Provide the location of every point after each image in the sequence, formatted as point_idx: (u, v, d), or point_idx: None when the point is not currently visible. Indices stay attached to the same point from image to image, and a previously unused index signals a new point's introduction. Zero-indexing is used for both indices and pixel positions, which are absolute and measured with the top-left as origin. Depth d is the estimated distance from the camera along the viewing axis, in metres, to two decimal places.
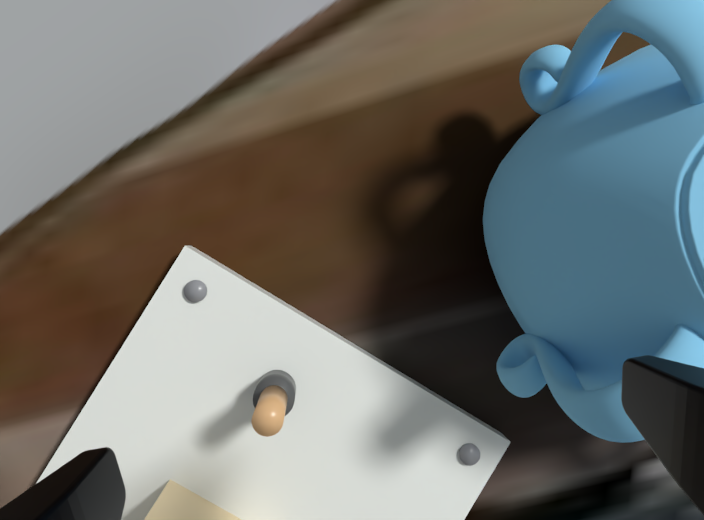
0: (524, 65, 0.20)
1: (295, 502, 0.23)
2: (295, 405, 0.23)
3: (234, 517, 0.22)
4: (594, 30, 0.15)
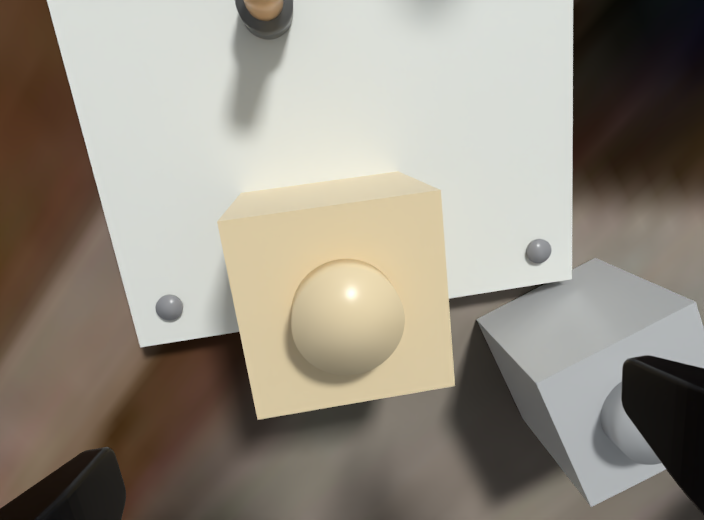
0: None
1: (381, 121, 0.18)
2: (301, 13, 0.17)
3: (332, 180, 0.18)
4: None
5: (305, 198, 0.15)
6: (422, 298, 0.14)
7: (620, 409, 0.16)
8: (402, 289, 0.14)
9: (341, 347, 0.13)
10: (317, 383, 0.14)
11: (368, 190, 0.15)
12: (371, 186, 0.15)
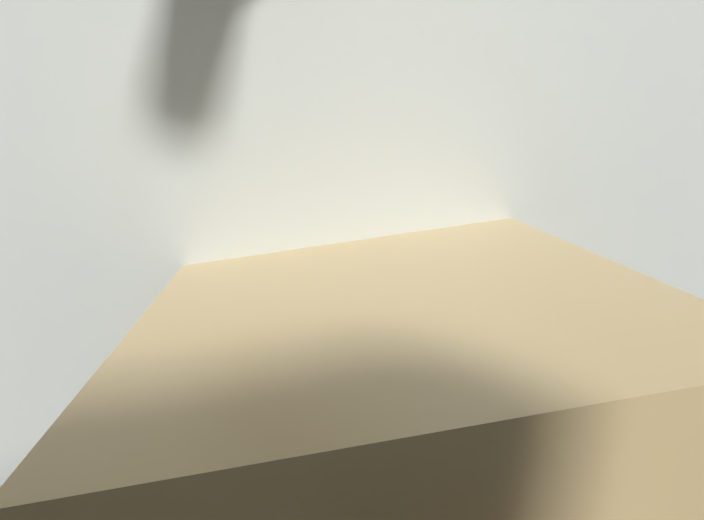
0: None
1: (482, 114, 0.08)
2: None
3: (376, 239, 0.09)
4: None
5: (329, 331, 0.05)
6: None
7: None
8: None
9: None
10: None
11: (512, 308, 0.05)
12: (500, 282, 0.06)
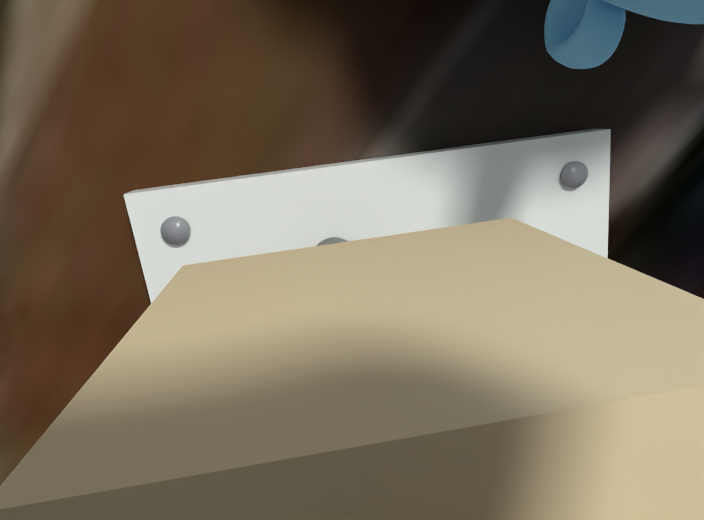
0: None
1: None
2: None
3: (376, 239, 0.09)
4: None
5: (329, 331, 0.05)
6: None
7: None
8: None
9: None
10: None
11: (512, 308, 0.05)
12: (500, 282, 0.06)
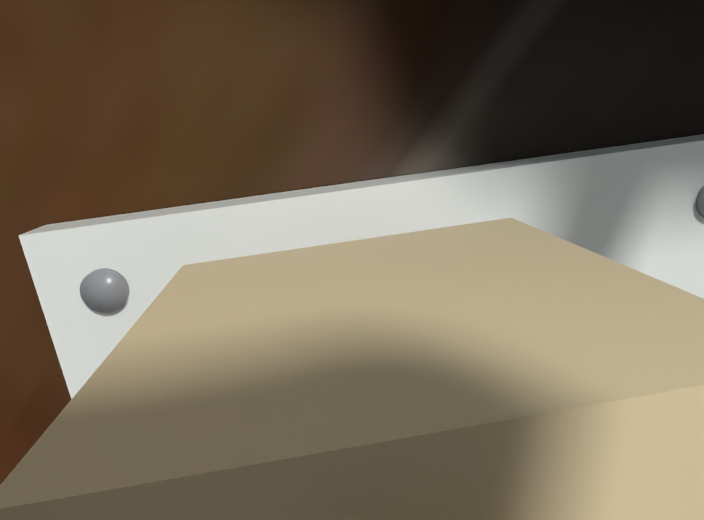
0: None
1: None
2: None
3: (376, 239, 0.09)
4: None
5: (329, 331, 0.05)
6: None
7: None
8: None
9: None
10: None
11: (512, 308, 0.05)
12: (500, 281, 0.06)
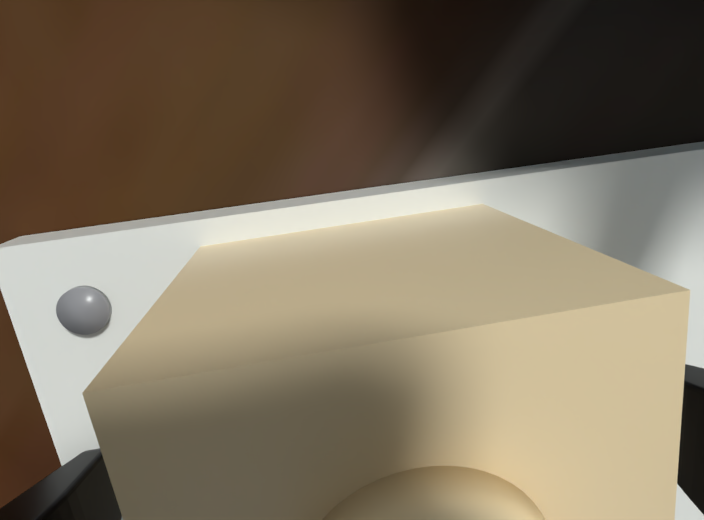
0: None
1: None
2: None
3: (366, 222, 0.10)
4: None
5: (323, 287, 0.06)
6: None
7: None
8: None
9: None
10: None
11: (466, 268, 0.06)
12: (462, 250, 0.07)
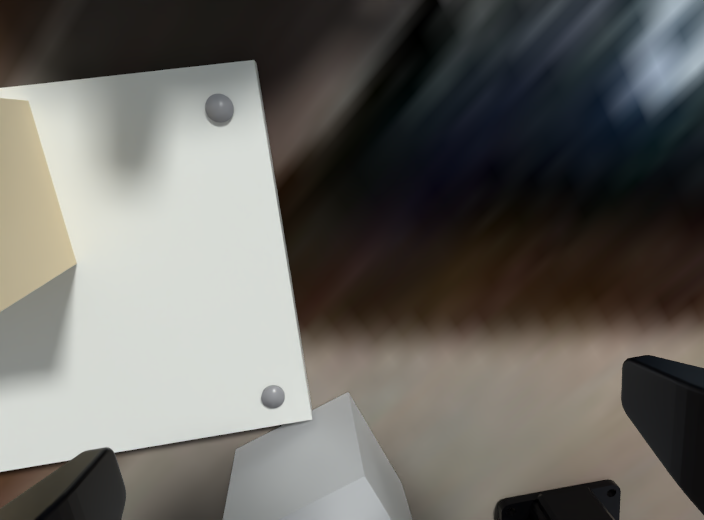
0: None
1: (96, 288, 0.19)
2: None
3: None
4: None
5: None
6: None
7: None
8: None
9: None
10: None
11: None
12: None
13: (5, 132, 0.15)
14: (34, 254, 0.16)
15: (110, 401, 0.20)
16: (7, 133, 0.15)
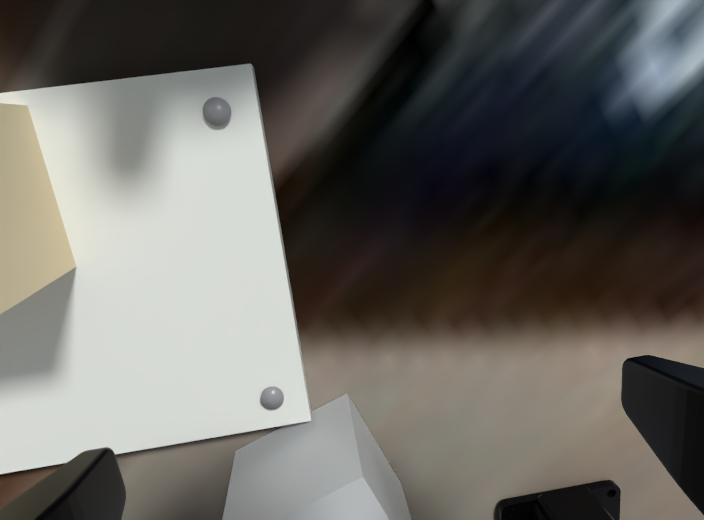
0: None
1: (96, 291, 0.19)
2: None
3: None
4: None
5: None
6: None
7: None
8: None
9: None
10: None
11: None
12: None
13: (4, 137, 0.15)
14: (33, 257, 0.16)
15: (110, 403, 0.20)
16: (6, 138, 0.16)
